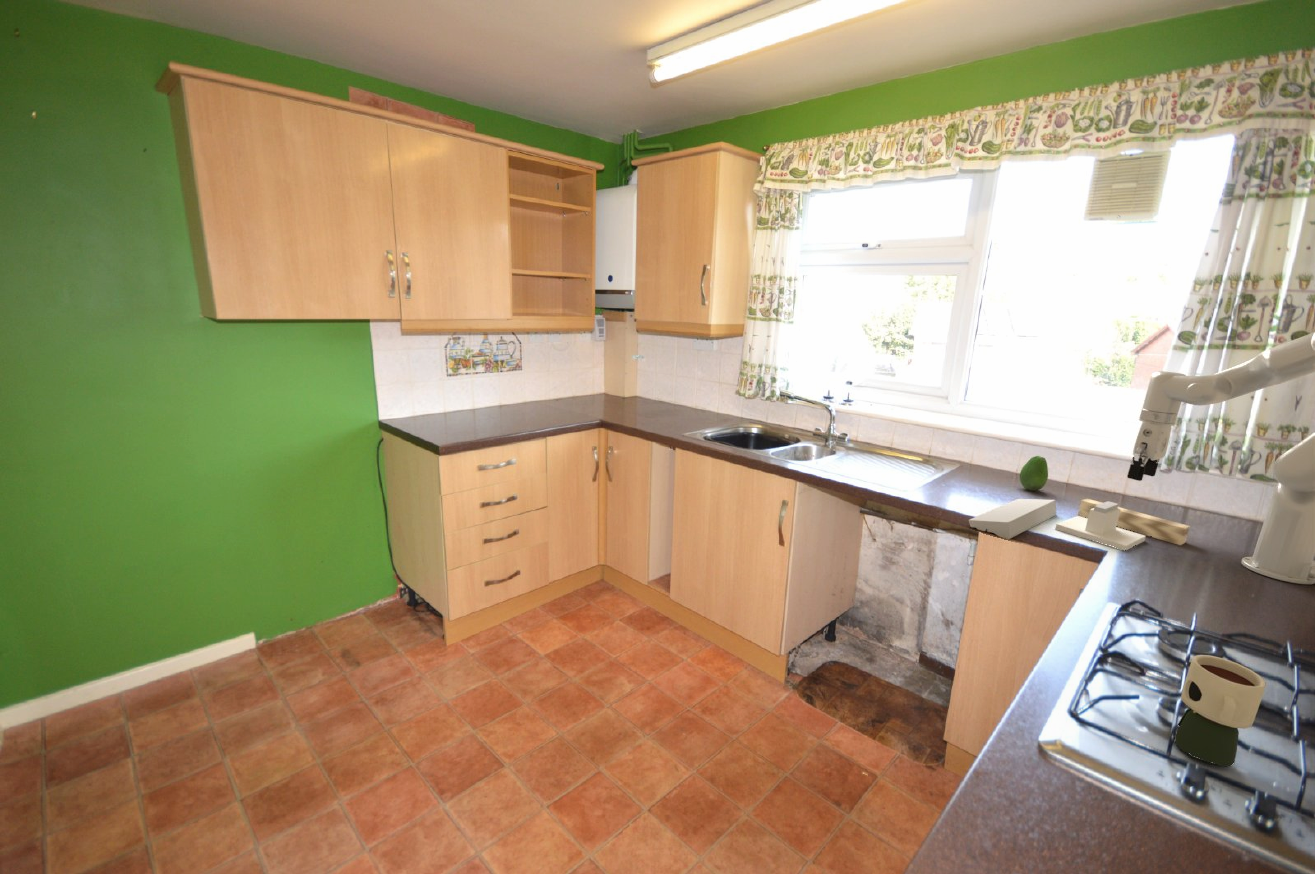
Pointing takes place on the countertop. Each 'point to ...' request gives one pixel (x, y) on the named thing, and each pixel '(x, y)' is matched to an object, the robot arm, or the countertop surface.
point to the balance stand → (1102, 527)
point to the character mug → (1217, 708)
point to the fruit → (1034, 474)
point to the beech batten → (1143, 523)
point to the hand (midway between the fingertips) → (1140, 477)
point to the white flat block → (1015, 517)
